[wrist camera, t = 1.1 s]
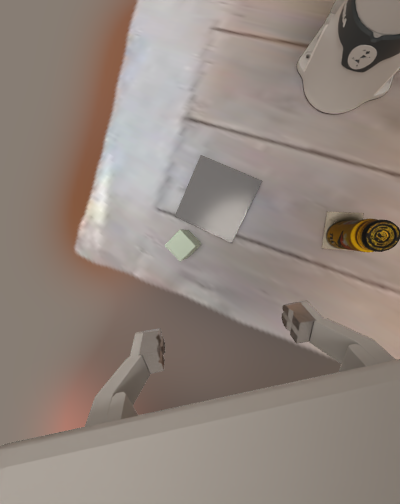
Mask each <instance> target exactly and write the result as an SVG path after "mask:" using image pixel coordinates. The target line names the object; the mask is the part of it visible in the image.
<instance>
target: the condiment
mask: <svg viewBox="0 0 400 504" xmlns="http://www.w3.org/2000/svg"><path fill="white" fill-rule="evenodd" d="M363 215H364V213H347V212H327V215H326V222H325V229H324V235H323V242H322V249H333V250H347V251H361V252H374V251H377V252H382V251H386V250H389V249H391V248H392V247H394V246H395V245H396V244H397V243H398V241H399V239H400V229H399V228H398V226H396V225H395V224H394V223H393V222H391V221H388V220H376V219H363ZM336 220H337V221H336ZM335 221H336V222H335ZM334 222H335V223H334Z"/></svg>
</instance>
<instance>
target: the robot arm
mask: <svg viewBox="0 0 400 504" xmlns="http://www.w3.org/2000/svg"><path fill="white" fill-rule="evenodd" d="M306 57H308V59H307V58H306ZM297 69H298V72H299V73H300V75H301V77H302V79H303V86H304V92H305V95H306V97H307V99H308V101H309V102H310V103H311V105H312V106H314V107H315V108H316V109H318V110H320V111H322V112H325V113H330V114H339V113H344V112H348V111H350V110H353V109H355V108H357V107H358V106H360V105H361V104H363V103H364V102H366V101H368V100H372V99H376V98H379V97H382V96H383V95H384V94H385V93H386V92H387V91H388V90H389V88H390V86H391V83H392V80H393V77H394V74H395V73H396V72H397V71H398V70H399V69H400V0H336V1H335V3H334V5H333V7H332V9H331V11H330V14H329V16H328V17H327V19H326V21H325V23H324V24H323V26H322V27H321V29H320V30H319V31H318V33H317V34H316V36H315V37H314V39H313V40H312V42H311V43H310V45H309V46H308V47H307V49H306V50H305V52H304V53H303V55H302V56H301V58H300V59H299V61H298V63H297ZM282 309H283V311H284V312H283V313H282V322H283V324H284V326H285V328H286V329H288V330H289V331H290V335H291V337H292V338H293V340H294V341H295V342H296V344H297V343H303V342H309V341H310V343H311V344H313V345H314V346H316V347H317V348H319V349H320V350H322V351H323V352H325V353H326V354H327V355H329V356H330V357H332V358H333V359H335V360H336V361H338V362H339V363H340V364H341V367H340V370H339V372H338V373H334V374H328V375H324V376H319V377H314V378H310V379H305V380H300V381H296V382H291V383H287V384H282V385H277V386H273V387H268V388H263V389H259V390H254V391H249V392H245V393H240V394H235V395H231V396H226V397H222V398H217V399H213V400H208V401H203V402H199V403H194V404H190V405H185V406H180V407H175V408H171V409H166V410H161V411H157V412H152V413H148V414H143V415H138V414H137V412H136V411H135V409H134V407H133V404H134V402H135V401H136V399H137V397H138V395H139V394H140V392H141V390H142V388H143V386H144V385H145V383H146V381H147V379H148V378H149V376H150V374H151V373H156V372H160V371H164V361H165V360H164V356H163V355H164V353H165V342H164V338H163V336H162V332H161V329H154V330H148V331H143V332H137V333H136V334H135V337H134V341H133V345H132V349H131V354H130V357H129V358H127V359H126V360H125V361H124V362H123V364H122V365H121V366H120V367H119V368H118V370H117V371H116V372H115V373H114V374H113V376H112V377H111V378H110V379H109V381H108V382H107V383H106V384H105V386H104V387H103V388H102V389H101V390H100V391H99V393H98V394H97V395H96V396H95V399H94V402H93V404H92V407H91V410H90V413H89V416H88V419H87V422H86V425H85V427H82V428H77V429H73V430H68V431H64V432H59V433H54V434H49V435H45V436H40V437H36V438H31V439H27V440H21V441H16V442H12V443H7V444H4V445H2V446H0V504H400V359H398V360H396V359H395V358H393V357H392V356H391V355H390V354H389V353H388V352H387V351H386V350H385V349H383V348H382V347H381V346H380V345H379V344H378V343H377V342H376V341H374V340H373V339H371V338H369V337H367V336H364V335H362V334H360V333H358V332H356V331H354V330H351V329H349V328H347V327H345V326H343V325H340V324H338V323H336V322H334V321H332V320H329V319H325V318H324V317H323V316H322V315H321V314H320V313H319V312H318V311H317V310H316V309H315V308H314V307H313V306H312V305H311V304H310V303H309V302H308V301H300V302H295V303H290V304H285V305H283V308H282Z"/></svg>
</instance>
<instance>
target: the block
mask: <svg viewBox="0 0 400 504" xmlns="http://www.w3.org/2000/svg"><path fill="white" fill-rule="evenodd" d="M200 245H201V243H200V242H199V241H198V240H197V239H196V238H195V237H194V235H193V234H192V233H191V232H190V231H189V230H179V231H178V232H177V233H176V234H175V235H174V236H173V237H172V238H171V239H170V240H169V242H168V243H167V244H166V245H165V246H166V248H167V249H168V250H169V251H170V252H171V253H172V254H173V255H174V256H175V257H176V258H177V259H178V260H179V261H180V262H181V261H182V260H184V259H186V258H188V257H189V256H190V255H191V254H192V253H193V252H194V251H195V250H196V249H197V248H198V247H199V246H200Z"/></svg>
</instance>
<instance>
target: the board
mask: <svg viewBox="0 0 400 504" xmlns="http://www.w3.org/2000/svg"><path fill="white" fill-rule="evenodd" d="M261 183H262V181H261V180H259V179H256V178H254V177H252V176H249V175H247V174H245V173H242V172H240V171H237V170H235V169H233V168H230V167H228V166H226V165H223V164H221V163H218V162H216V161H214V160H211V159H209V158H207V157H204V156H202V155H201V156H200V158H199V161H198V163H197V165H196V168H195V170H194V172H193V175H192V177H191V179H190V182H189V184H188V186H187V189H186V191H185V194H184V196H183V198H182V201H181V203H180V205H179V208H178V210H177V212H176V215H175V217H177V218H179V219H181V220H183V221H186V222H188V223H190V224H192V225H194V226H196V227H198V228H200V229H202V230H205V231H207V232H209V233H211V234H213V235H215V236H217V237H219V238H221V239H224V240H226V241H228V242H230V243H232V242H233V240H234V238H235V236H236V234H237V232H238V230H239V228H240V225H241V223H242V221H243V219H244V217H245V215H246V213H247V211H248V209H249V207H250V205H251V203H252V201H253V199H254V197H255V195H256V193H257V191H258V189H259V187H260V185H261Z"/></svg>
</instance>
